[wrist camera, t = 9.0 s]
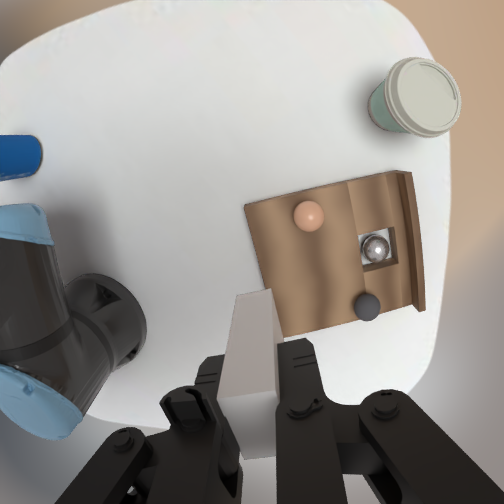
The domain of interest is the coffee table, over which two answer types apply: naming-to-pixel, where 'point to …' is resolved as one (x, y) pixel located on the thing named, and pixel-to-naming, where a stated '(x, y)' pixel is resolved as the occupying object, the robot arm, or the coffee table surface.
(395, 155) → the coffee table surface
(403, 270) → the wooden board
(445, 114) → the coffee cup
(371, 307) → the black ball
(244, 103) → the coffee table surface
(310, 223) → the clay ball
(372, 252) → the steel ball
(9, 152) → the beverage can
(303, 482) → the robot arm
